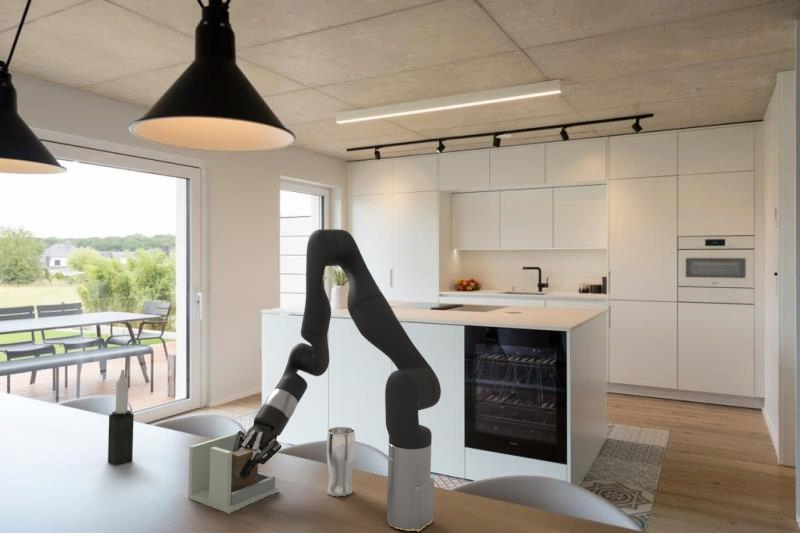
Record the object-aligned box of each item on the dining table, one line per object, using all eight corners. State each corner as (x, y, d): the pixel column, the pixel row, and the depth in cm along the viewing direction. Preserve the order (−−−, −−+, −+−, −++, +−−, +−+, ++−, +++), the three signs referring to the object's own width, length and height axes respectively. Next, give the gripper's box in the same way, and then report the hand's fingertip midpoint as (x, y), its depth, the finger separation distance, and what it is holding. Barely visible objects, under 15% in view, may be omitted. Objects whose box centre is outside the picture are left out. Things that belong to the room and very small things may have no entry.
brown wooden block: (257, 487, 135) (258, 449, 135) (237, 495, 130) (238, 455, 130) (248, 484, 136) (249, 446, 136) (228, 492, 131) (229, 453, 131)
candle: (115, 466, 151) (117, 372, 151) (106, 461, 154) (108, 369, 154) (134, 461, 155) (136, 369, 155) (124, 456, 158) (127, 367, 158)
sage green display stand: (278, 491, 137) (279, 437, 137) (229, 513, 125) (230, 454, 125) (238, 478, 145) (239, 427, 145) (188, 498, 132) (189, 442, 132)
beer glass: (327, 499, 134) (329, 435, 134) (323, 488, 140) (324, 427, 140) (356, 496, 135) (358, 433, 135) (351, 485, 142) (352, 425, 142)
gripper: (248, 399, 143) (207, 461, 133) (289, 407, 136) (249, 474, 125) (264, 415, 148) (225, 476, 137) (304, 425, 140) (266, 490, 130)
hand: (237, 475), depth 131 cm, fingers closed on brown wooden block, 3 cm apart
